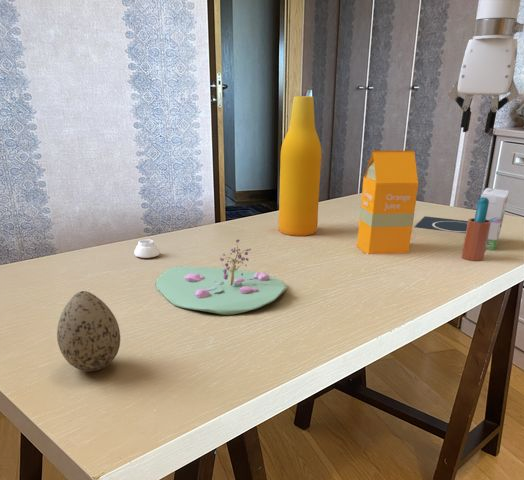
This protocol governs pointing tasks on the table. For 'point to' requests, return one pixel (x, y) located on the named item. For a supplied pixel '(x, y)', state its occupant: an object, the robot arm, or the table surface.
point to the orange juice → (388, 203)
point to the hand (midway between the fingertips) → (476, 131)
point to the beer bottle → (300, 172)
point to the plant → (219, 287)
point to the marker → (481, 210)
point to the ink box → (495, 214)
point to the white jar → (146, 249)
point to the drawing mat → (443, 224)
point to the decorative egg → (88, 333)
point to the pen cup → (475, 240)
